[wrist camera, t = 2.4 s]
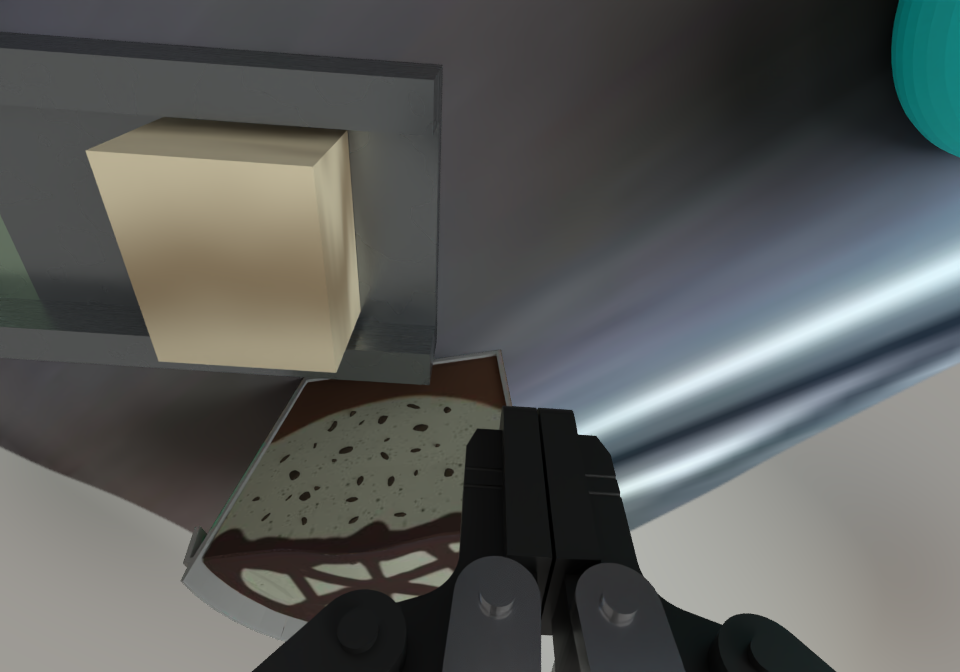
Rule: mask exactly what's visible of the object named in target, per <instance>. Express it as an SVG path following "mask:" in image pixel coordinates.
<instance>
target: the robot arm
mask: <svg viewBox="0 0 960 672" xmlns="http://www.w3.org/2000/svg"><path fill="white" fill-rule="evenodd" d="M541 635H553V645H554V656H555V661H554V665H553V668H552V672H836V671H835V670H834V669H832V668H831V667H830V666H829V665H828V664H827V663H825V662H824V661H823V660H822V659H821V658H820V657H818V656H817V655H816V654H815V653H814V652H812V651H811V650H810V649H809V648H808V647H807V646H805V645H804V644H803V643H802V642H801V641H800V640H799V639H797V638H796V637H795V636H794V635H793V634H792V633H790V632H789V631H788V630H786V629H785V628H784V627H783V626H781V625H779V624H778V623H776V622H774V621H772V620H770V619H768V618H766V617H763V616H760V615H755V614H738V615H735V616H732V617H730V618H729V619H728V620H726V621H725V623H724V624H723V625H721V624H718V623H716V622H713V621H710V620H708V619H705V618H703V617H700V616H698V615H695V614H692V613H690V612H687V611H684V610H682V609H680V608H677V607H676V606H674V605H672V604H670V603H669V602H667V601H666V600H665V599H663V598H662V597H661V596H660V595H658V594H657V592H656V591H655V589H654V587H653V586H652V585H651V584H650V583H649V581H647V580H646V579H645V578H644V576H643V575H642V573H641V571H640V568H639V565H638V562H637V558H636V554H635V550H634V546H633V542H632V538H631V534H630V530H629V526H628V522H627V518H626V514H625V510H624V506H623V502H622V498H621V497H620V490H619V486H618V482H617V480H616V475H615V471H614V467H613V463H612V459H611V455H610V453H609V452H608V451H607V449H606V448H605V447H604V446H603V444H602V443H601V442H600V440H599V439H598V438H597V436H589V435H578V433H577V428H576V422H575V417H574V413H573V411H572V410H564V409H549V408H538V409H536V408H532V407H516V406H502V410H501V418H500V427H499V430H495V429H479V428H477V429H476V431H475V433H474V434H473V436H472V437H471V439H470V440H469V442H468V444H467V445H466V456H465V469H464V483H463V496H462V513H461V530H460V546H459V560H458V563H457V566H456V568H455V570H454V572H453V573H452V575H451V576H450V577H449V579H448V580H447V581H446V582H445V583H444V584H442V585H441V586H440V587H438V588H437V589H435V590H433V591H431V592H430V593H427V594H424V595H421V596H418V597H414V598H411V599H407V600H403V601H400V602H395V601H394V600H393V599H392V598H390V597H389V596H388V595H386V594H384V593H382V592H379V591H375V590H369V589H362V590H355V591H350V592H348V593H345V594H343V595H341V596H339V597H337V598H335V599H334V600H333V601H332V602H330V603H329V604H328V605H327V606H326V607H324V608H323V609H322V610H321V611H320V612H319V613H318V614H316V615H315V616H314V617H313V618H312V619H311V620H310V621H309V622H307V623H306V624H305V625H304V626H303V627H302V628H301V629H300V630H298V631H297V632H296V633H295V634H294V635H293V636H292V637H291V638H289V639H288V640H287V641H286V642H285V643H284V644H283V645H282V646H280V647H279V648H278V649H277V650H276V651H275V652H274V653H272V654H271V655H270V656H269V657H268V658H267V659H266V660H265V661H263V663H261V664H260V665H259V666H258V667H257V668H256V669H254V670H253V671H252V672H541Z"/></svg>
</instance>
